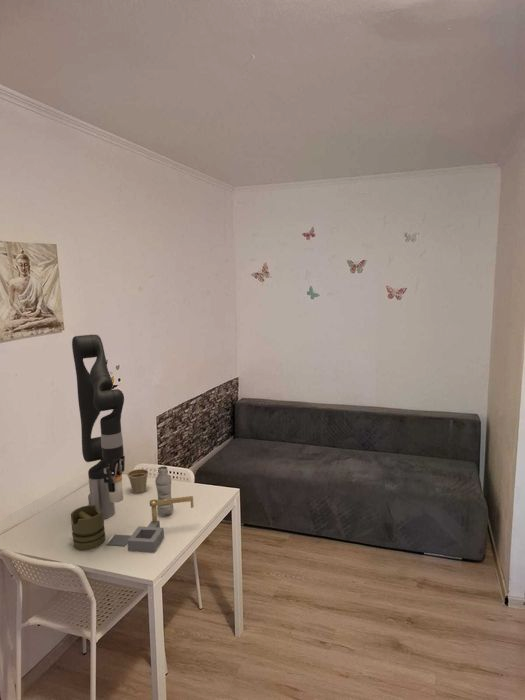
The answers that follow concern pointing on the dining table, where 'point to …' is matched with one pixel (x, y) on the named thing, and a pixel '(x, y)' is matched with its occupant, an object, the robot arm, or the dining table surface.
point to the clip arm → (172, 501)
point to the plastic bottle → (164, 491)
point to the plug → (117, 490)
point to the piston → (87, 528)
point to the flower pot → (138, 480)
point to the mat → (118, 540)
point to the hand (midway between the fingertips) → (115, 488)
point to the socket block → (147, 536)
